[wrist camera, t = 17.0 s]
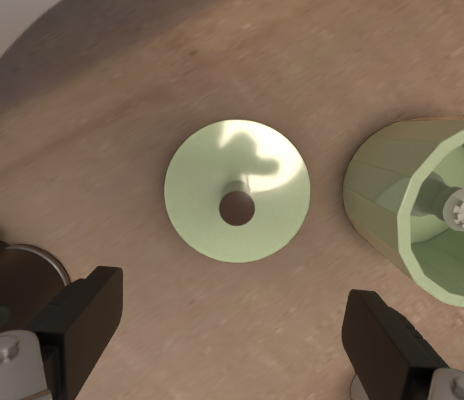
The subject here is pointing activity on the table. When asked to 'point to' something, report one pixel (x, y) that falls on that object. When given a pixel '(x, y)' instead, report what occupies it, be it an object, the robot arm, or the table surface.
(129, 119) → the table surface
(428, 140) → the jar
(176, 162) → the jar lid
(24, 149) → the table surface
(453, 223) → the rook chess piece
